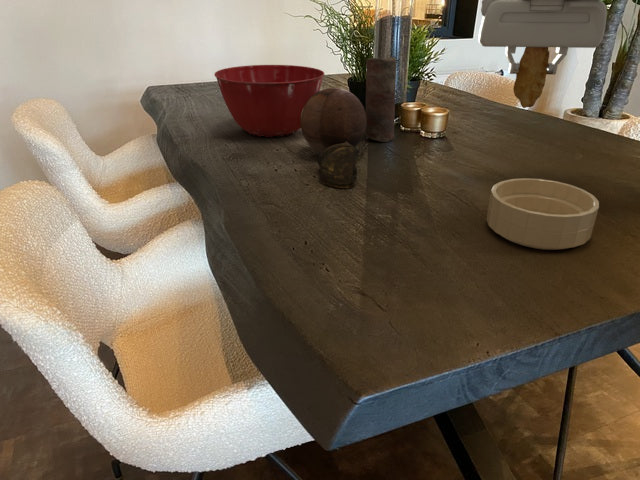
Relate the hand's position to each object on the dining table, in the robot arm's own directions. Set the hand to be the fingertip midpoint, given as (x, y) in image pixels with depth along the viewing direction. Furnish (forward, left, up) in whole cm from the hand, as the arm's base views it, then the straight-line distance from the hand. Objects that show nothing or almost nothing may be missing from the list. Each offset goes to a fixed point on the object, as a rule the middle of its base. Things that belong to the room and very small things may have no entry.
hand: (531, 73), depth 88 cm
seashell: (+35, +1, -21) cm, 41 cm away
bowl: (0, +22, -21) cm, 30 cm away
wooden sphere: (+38, -13, -21) cm, 45 cm away
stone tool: (0, 0, -6) cm, 6 cm away
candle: (+28, -27, -21) cm, 44 cm away
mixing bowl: (+57, -31, -21) cm, 68 cm away
